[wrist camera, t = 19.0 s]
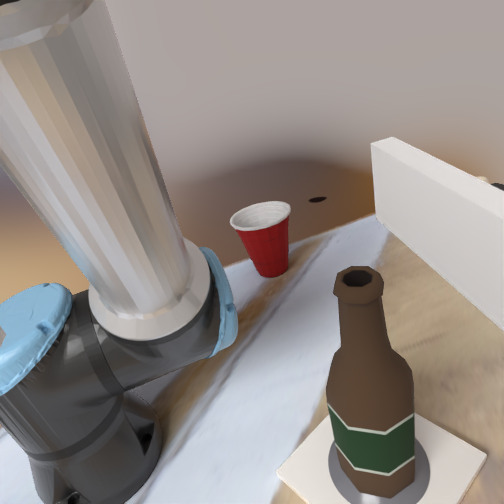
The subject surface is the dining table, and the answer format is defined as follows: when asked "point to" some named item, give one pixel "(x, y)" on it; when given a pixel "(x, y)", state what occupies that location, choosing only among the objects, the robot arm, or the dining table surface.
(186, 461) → the dining table surface
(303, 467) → the tile
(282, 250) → the plastic cup
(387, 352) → the beer bottle
